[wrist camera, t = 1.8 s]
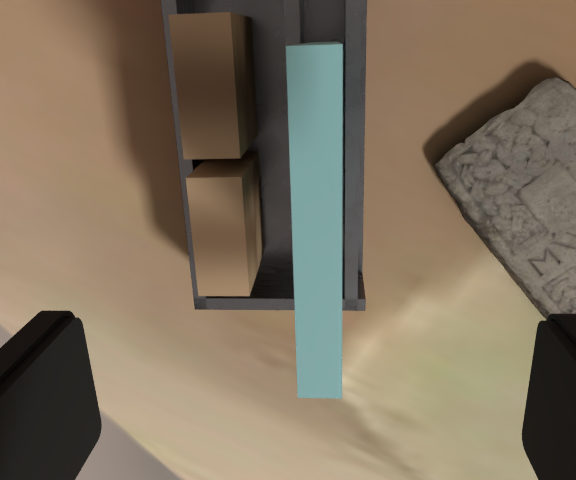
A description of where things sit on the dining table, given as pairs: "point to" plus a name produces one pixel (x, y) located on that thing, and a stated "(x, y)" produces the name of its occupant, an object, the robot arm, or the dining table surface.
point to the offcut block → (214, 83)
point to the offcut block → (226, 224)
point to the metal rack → (275, 138)
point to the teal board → (316, 212)
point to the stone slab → (524, 192)
